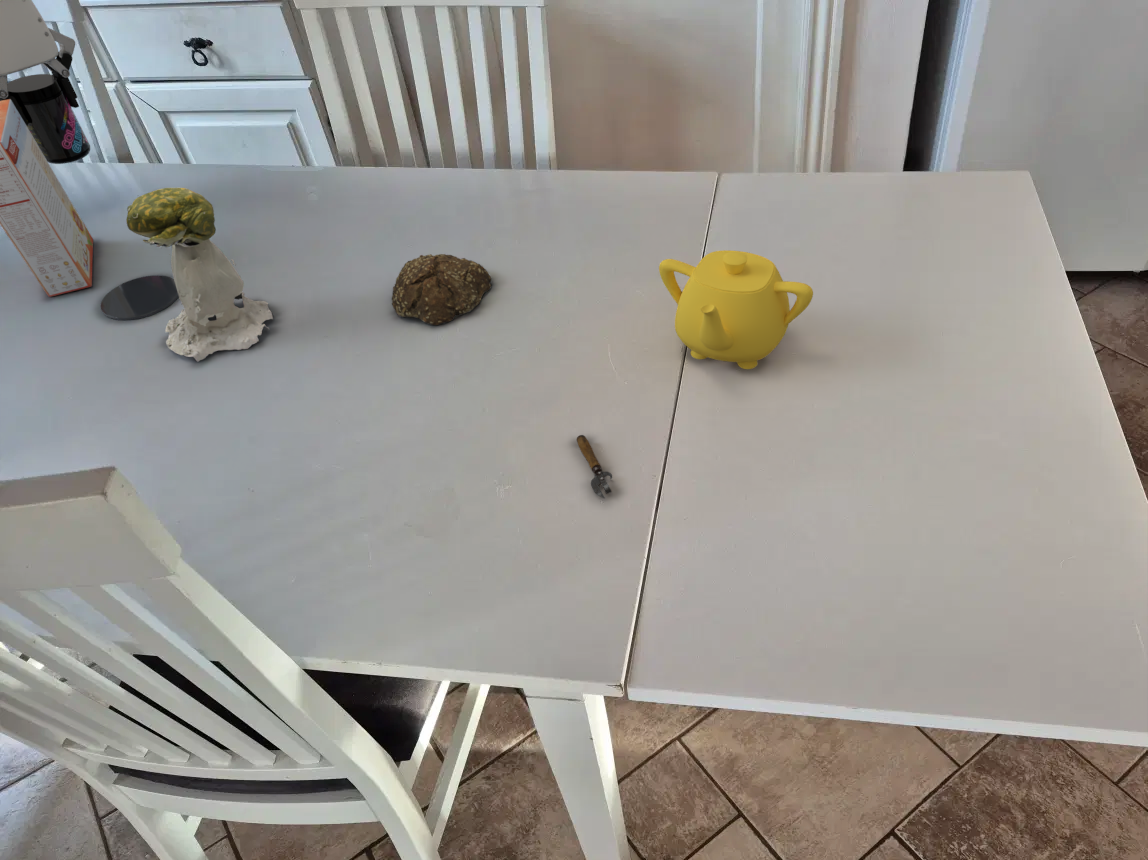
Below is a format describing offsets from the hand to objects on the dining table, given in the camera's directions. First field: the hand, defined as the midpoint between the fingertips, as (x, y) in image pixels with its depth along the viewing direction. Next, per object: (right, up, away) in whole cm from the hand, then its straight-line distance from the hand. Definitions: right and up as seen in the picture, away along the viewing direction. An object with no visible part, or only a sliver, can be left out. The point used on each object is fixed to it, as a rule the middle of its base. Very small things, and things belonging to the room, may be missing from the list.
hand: (46, 113), depth 121 cm
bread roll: (+59, -29, -10) cm, 67 cm away
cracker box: (+5, -23, -2) cm, 24 cm away
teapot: (+96, -38, -21) cm, 105 cm away
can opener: (+80, -52, -34) cm, 101 cm away
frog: (+32, -34, -14) cm, 49 cm away
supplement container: (0, -4, +5) cm, 6 cm away
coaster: (+18, -28, -8) cm, 35 cm away
